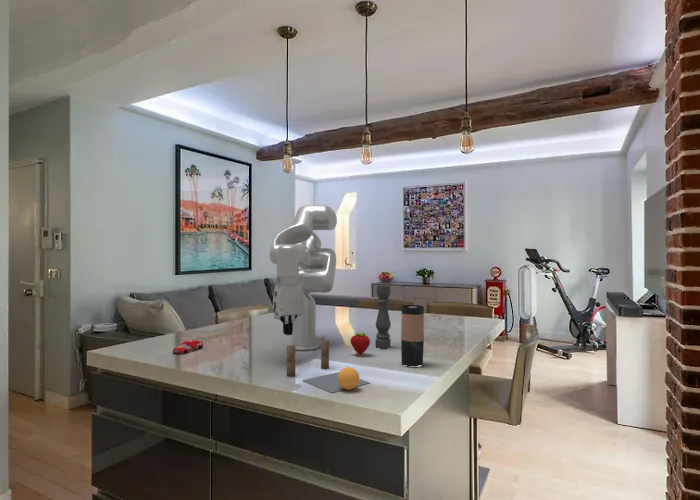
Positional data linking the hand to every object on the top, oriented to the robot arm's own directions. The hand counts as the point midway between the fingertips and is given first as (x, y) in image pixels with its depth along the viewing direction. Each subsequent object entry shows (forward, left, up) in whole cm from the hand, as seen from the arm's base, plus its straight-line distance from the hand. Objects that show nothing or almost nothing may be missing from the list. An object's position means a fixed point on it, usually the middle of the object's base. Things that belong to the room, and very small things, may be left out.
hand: (287, 334), depth 143 cm
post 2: (-6, +14, -10) cm, 18 cm away
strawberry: (-27, +8, -10) cm, 29 cm away
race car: (+21, -38, -10) cm, 44 cm away
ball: (+2, +35, -7) cm, 36 cm away
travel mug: (-32, +29, -10) cm, 44 cm away
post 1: (+8, +14, -10) cm, 18 cm away
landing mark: (+1, +28, -10) cm, 30 cm away
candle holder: (-43, +4, -10) cm, 44 cm away
